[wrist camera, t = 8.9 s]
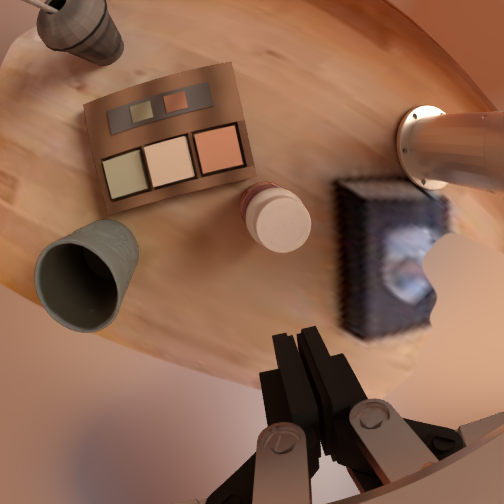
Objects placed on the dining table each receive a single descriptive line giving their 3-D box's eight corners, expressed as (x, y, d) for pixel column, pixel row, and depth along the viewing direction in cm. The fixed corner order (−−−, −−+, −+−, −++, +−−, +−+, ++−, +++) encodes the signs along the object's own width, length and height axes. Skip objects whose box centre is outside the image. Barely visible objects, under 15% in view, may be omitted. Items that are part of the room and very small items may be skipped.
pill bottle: (233, 222, 38) (240, 250, 28) (247, 175, 37) (261, 183, 26) (279, 235, 40) (303, 266, 29) (295, 189, 38) (325, 203, 27)
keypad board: (230, 67, 32) (231, 60, 30) (253, 175, 37) (257, 177, 34) (91, 107, 32) (81, 104, 29) (114, 211, 36) (107, 216, 33)
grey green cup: (126, 202, 36) (91, 223, 25) (158, 273, 39) (138, 318, 28) (65, 232, 36) (18, 261, 25) (97, 297, 39) (64, 343, 28)
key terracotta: (233, 127, 34) (234, 125, 32) (241, 163, 35) (243, 164, 33) (195, 135, 34) (194, 134, 32) (203, 172, 35) (203, 173, 33)
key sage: (142, 150, 33) (138, 150, 31) (151, 186, 35) (147, 188, 33) (108, 161, 33) (102, 162, 31) (117, 196, 35) (112, 199, 33)
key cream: (185, 137, 32) (184, 136, 30) (194, 175, 34) (193, 176, 32) (147, 147, 32) (143, 147, 30) (156, 185, 34) (153, 187, 32)
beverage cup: (145, 44, 30) (92, -36, 11) (104, 86, 31) (18, 39, 12) (111, 17, 28) (49, -59, 9) (73, 57, 29) (-15, 7, 10)
